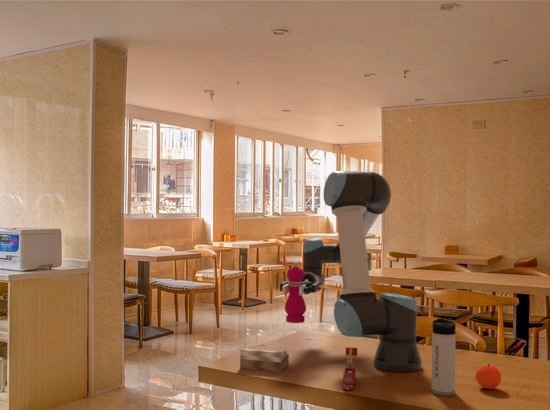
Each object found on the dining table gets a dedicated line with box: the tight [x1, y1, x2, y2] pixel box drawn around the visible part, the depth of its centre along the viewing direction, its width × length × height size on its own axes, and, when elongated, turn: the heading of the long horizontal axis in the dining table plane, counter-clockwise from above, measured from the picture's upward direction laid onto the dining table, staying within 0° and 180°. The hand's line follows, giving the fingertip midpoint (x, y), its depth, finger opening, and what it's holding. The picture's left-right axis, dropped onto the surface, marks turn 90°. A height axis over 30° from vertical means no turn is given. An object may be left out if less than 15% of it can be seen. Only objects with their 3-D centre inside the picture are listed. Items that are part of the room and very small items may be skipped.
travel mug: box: [431, 318, 457, 397], centre depth 164 cm, size 6×7×20 cm
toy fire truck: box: [342, 346, 358, 391], centre depth 171 cm, size 3×14×10 cm, turn 168°
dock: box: [239, 347, 290, 373], centre depth 189 cm, size 13×11×6 cm
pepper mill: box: [284, 262, 307, 324], centre depth 199 cm, size 7×7×20 cm
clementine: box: [473, 363, 502, 390], centre depth 168 cm, size 8×7×7 cm
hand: (291, 290), depth 194 cm, fingers closed on pepper mill, 5 cm apart
